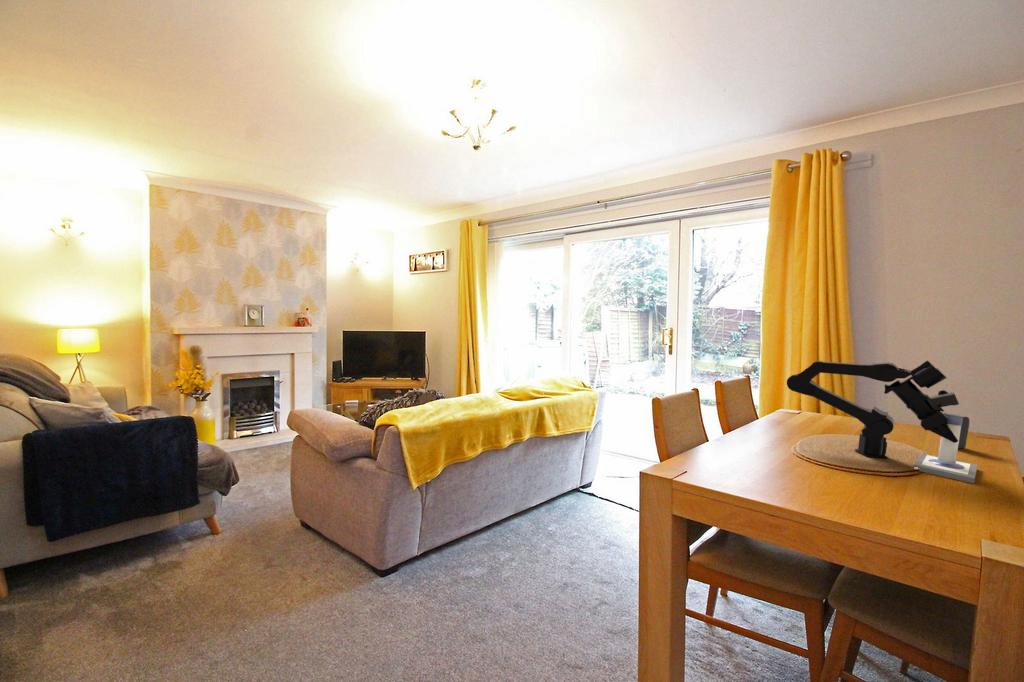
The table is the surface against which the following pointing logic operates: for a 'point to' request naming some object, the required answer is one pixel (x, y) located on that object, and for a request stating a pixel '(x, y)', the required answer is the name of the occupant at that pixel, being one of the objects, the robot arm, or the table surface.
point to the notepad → (947, 468)
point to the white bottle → (946, 446)
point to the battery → (963, 432)
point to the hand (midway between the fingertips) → (955, 440)
